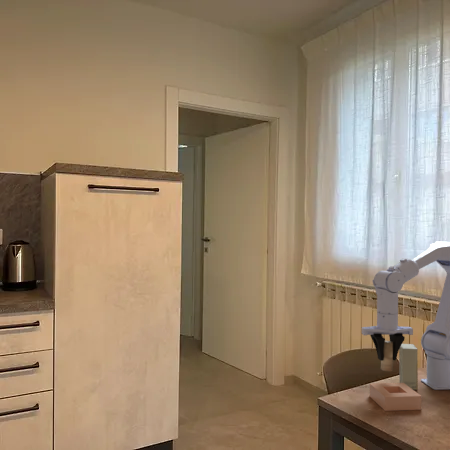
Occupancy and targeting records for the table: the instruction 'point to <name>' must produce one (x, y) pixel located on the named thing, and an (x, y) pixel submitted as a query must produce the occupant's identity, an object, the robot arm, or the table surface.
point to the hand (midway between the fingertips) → (386, 359)
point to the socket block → (395, 396)
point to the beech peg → (387, 357)
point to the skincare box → (408, 365)
